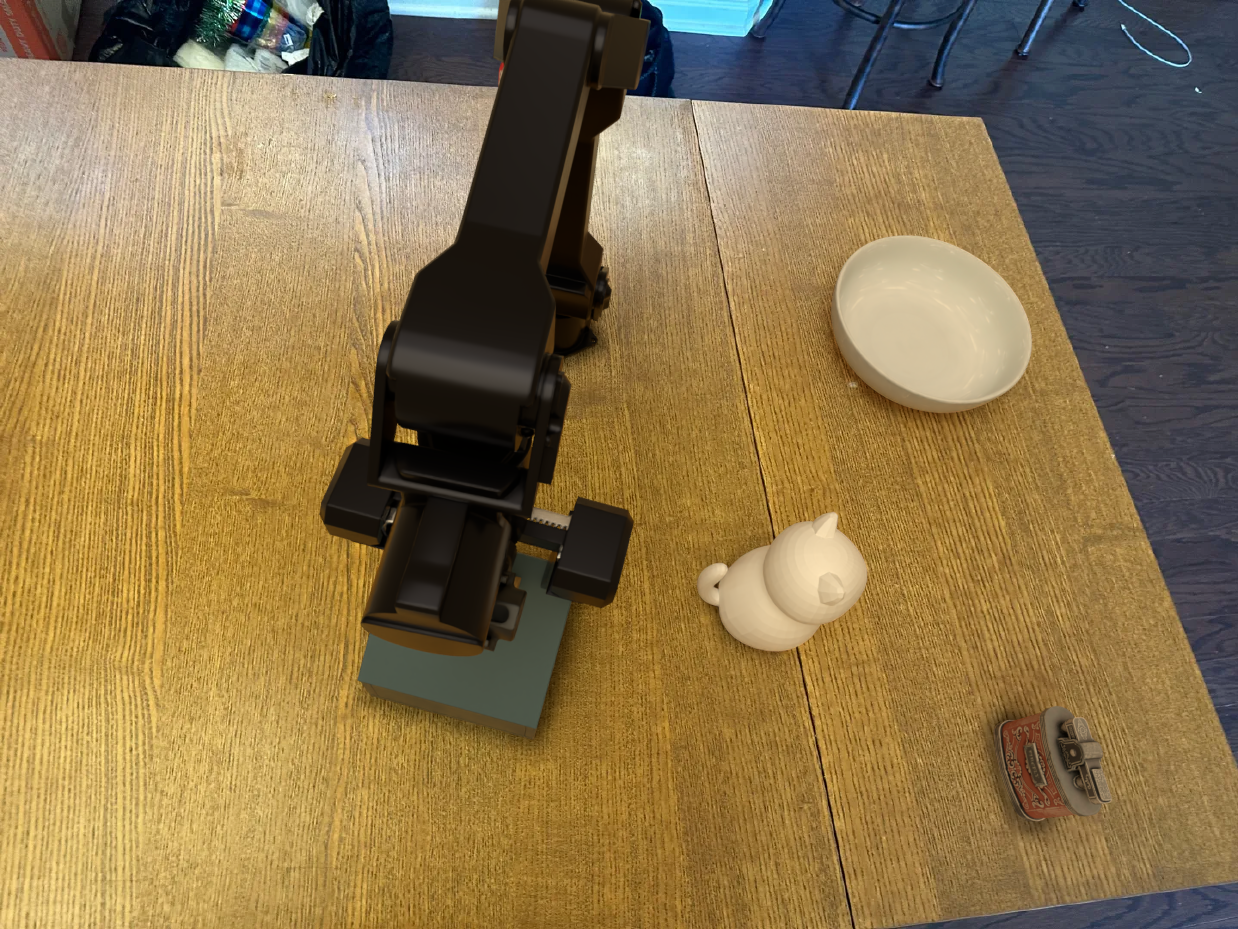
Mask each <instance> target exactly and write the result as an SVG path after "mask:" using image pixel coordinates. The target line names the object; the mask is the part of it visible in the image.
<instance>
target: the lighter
mask: <svg viewBox="0 0 1238 929" xmlns="http://www.w3.org/2000/svg"><path fill="white" fill-rule="evenodd" d="M993 739H994V740H993V741H994V748H995V749H994V750H995V756H996V760H997V765H998V769H999V774H1000V776H1001V779H1002V782H1003V785H1004V788H1005V791H1006V793H1007V796H1008V798H1009V801H1010V802H1011V805H1012V807H1013V809H1014V812H1015V813H1016V815H1017V816H1018V817H1019V818H1021V820H1024V821H1026V822H1033V823H1034V822H1040V821H1044V820H1045V819H1048V818H1049V819H1050V818H1060V817H1069V816H1077V817H1083V818H1084V817H1091V816H1095V815H1097V814H1098V813H1100V811H1101V809H1102V805H1106V804H1110V803H1111V802H1112V800H1113V799H1112V798H1113V797H1112V793H1111V790H1110V788H1109V784H1108V781H1107V778H1106V776H1105V773H1104V769H1103V766H1102V759H1103V757H1104V752H1103V748H1102V745H1101V743H1100V742H1099V741H1097V740H1095V738H1094V737H1093V736H1092V732H1091V730H1090V727H1089V723H1088V720H1086V718H1084V717H1082V716H1076V717H1075V716H1074V714H1073V713H1072V711H1071V710H1069V709H1068V708H1066V707H1063V706H1061V705H1054V706H1050V707H1047V708H1045V709H1043V710H1042V711H1041V712H1039V713H1035V714H1030V715H1027V716H1025V717H1022V718H1018V719H1015V720H1014V719H1008V720H1003V721H1001V722H998V723H997V724H996V725H995V727H994V728H993Z"/></svg>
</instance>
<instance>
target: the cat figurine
mask: <svg viewBox="0 0 1238 929" xmlns="http://www.w3.org/2000/svg"><path fill="white" fill-rule="evenodd" d="M838 523H839V514H838V513H836V512H835V511H831V512H826V513H822V514H821V515H819V516H818V517H816V518H815V519H814V520H813V521H812V520H804V521H799V522H795V523H793V524H791V525H789V526H786V528H784V529H783V530H781V532H780V533H779V534H777V535H776V536H775V537H774V539H773V540H772V541H771V543H770V544H768V545H764V546H759V547H756V548H753V549H751V550H750V551H749V550H748V552H746V553H744V554H743V555H741V556H739V557H738V558H737V559H736V560H735V561H734V562H733V563H732V564H730V566H729V567H728V565H726V564H725V563H724V562H715V563H711V564H710V565H708V566H706V567H705V568H703V570H702V571H701V572H699V576H698V577H697V579H696V580H697V581H696V589H697V593H698V595H699V597H700V598H701V599H702V601H704V602H705V603H707V604H709V605H711V606H712V605H713V606H714V607H718V613H719V614H718V615H719V618H720V621H721V624H722V625H723V627H724V628H725V630H726V632H727V633H729V634H730V635H731V636H732V637H733V638H734V639H736V640H737V641H738V642H740V643H742V644H744V645H746V646H748V647H751V648H753V649H757V650H760V651H761V650H762V651H766V652H786V651H790V650H793V649H795V648H798V647H799V646H801V645H803V644H805V643H806V642H808V641H809V640H810V639H811V638H813V636H814V634H816V632H817V631H818V630H819V628H820V626H821V625H826V624H829V623H832V622H834V621H835V620H838V619H839V618H841V617H842V616H843V615H845V614H846V613H847V612H848V611H849V610H850V609H851V608H852V607H853V606H854V605H855V604H856V603H857V602H858V600H859V599H860V598H861V596H862V595H863V593H864V592H865V589H866V585H867V582H868V567H867V563H866V561H865V559H864V557H863V554H862V553H861V552H860V550H859V549H858V547H856V544H854V542H853V541H852V540H851V539H850V538H849V537H847V535H846V534H844V532H842V531H841V530H839V529H838ZM717 584H718V588H717V587H715V586H716V585H717Z"/></svg>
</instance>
